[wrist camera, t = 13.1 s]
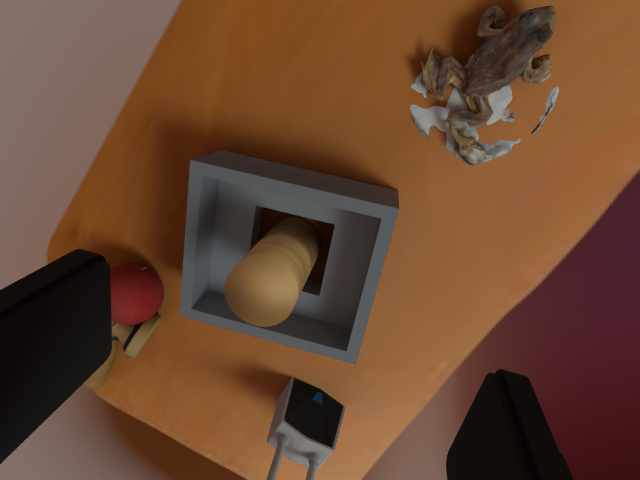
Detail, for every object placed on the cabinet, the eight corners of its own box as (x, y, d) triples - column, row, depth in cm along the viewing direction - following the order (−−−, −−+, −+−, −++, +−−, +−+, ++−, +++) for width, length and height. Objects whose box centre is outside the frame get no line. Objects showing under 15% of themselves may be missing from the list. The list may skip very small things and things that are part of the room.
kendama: (141, 381, 49) (191, 287, 40) (96, 418, 43) (142, 319, 34) (97, 339, 50) (136, 239, 41) (47, 370, 44) (80, 262, 35)
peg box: (222, 149, 35) (190, 159, 30) (398, 190, 34) (399, 208, 28) (208, 285, 41) (179, 315, 35) (361, 326, 39) (355, 364, 34)
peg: (273, 210, 37) (227, 252, 26) (326, 222, 36) (300, 270, 26) (266, 259, 38) (221, 316, 28) (316, 271, 38) (289, 334, 28)
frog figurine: (478, -48, 28) (490, -69, 24) (601, 64, 29) (630, 61, 25) (371, 90, 32) (368, 89, 29) (481, 184, 33) (492, 195, 30)
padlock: (277, 399, 44) (223, 538, 30) (294, 374, 43) (245, 508, 29) (328, 428, 44) (298, 580, 30) (347, 404, 43) (324, 553, 29)
